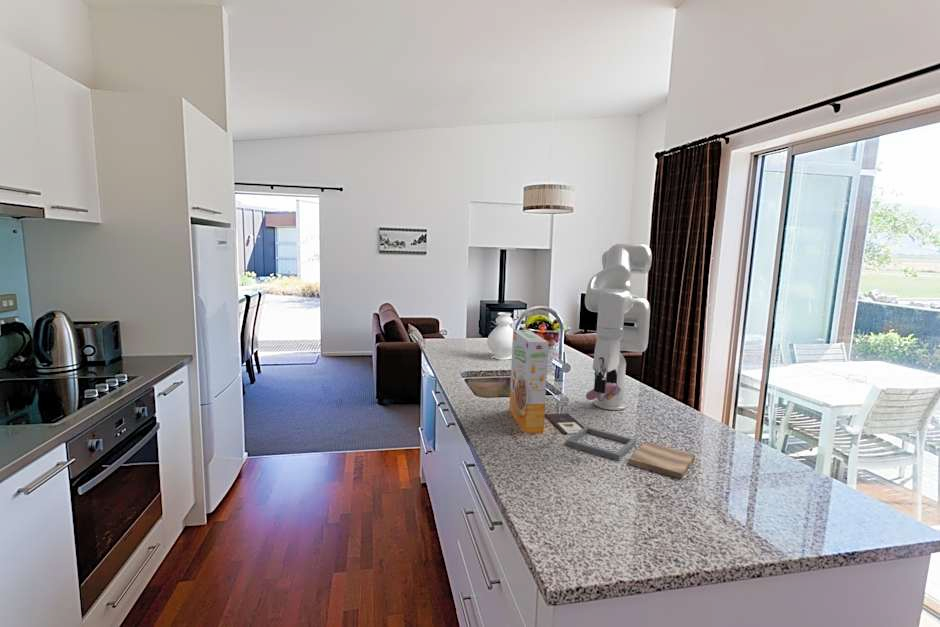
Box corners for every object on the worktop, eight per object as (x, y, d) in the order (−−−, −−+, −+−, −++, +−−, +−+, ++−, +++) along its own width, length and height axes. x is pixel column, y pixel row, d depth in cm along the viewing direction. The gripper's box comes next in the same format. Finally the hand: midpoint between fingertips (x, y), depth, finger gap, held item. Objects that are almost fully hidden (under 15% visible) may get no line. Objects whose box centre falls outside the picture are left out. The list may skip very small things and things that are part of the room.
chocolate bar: (567, 413, 172) (589, 431, 154) (567, 415, 172) (589, 434, 155) (544, 414, 170) (563, 432, 153) (544, 416, 170) (563, 435, 153)
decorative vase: (502, 353, 275) (504, 310, 271) (525, 359, 261) (527, 314, 258) (479, 356, 263) (481, 312, 260) (502, 363, 250) (504, 316, 246)
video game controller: (592, 407, 142) (601, 390, 139) (583, 396, 146) (592, 380, 142) (616, 403, 147) (625, 387, 143) (607, 393, 150) (616, 377, 147)
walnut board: (645, 446, 146) (645, 441, 145) (694, 459, 137) (695, 454, 137) (628, 463, 133) (628, 458, 133) (681, 479, 125) (682, 473, 124)
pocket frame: (585, 430, 157) (586, 426, 156) (635, 444, 147) (636, 439, 147) (565, 444, 144) (566, 440, 144) (618, 460, 135) (619, 455, 134)
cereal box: (509, 410, 174) (513, 330, 170) (525, 410, 175) (529, 330, 171) (524, 433, 152) (529, 342, 148) (543, 433, 153) (548, 342, 149)
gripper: (607, 328, 150) (604, 380, 153) (586, 335, 137) (582, 392, 139) (631, 331, 146) (627, 385, 148) (611, 338, 132) (606, 398, 135)
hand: (605, 388), depth 144 cm, fingers closed on video game controller, 9 cm apart
